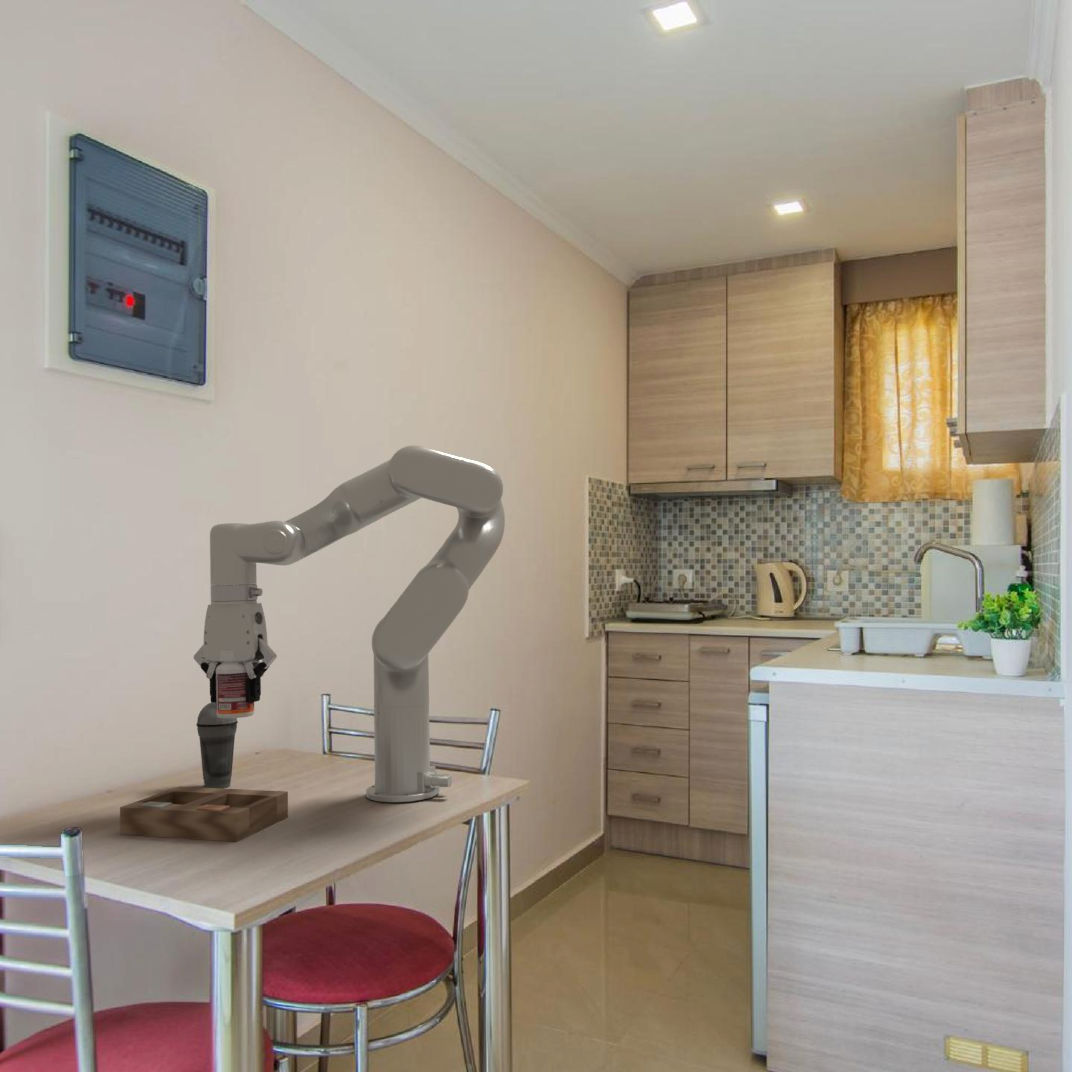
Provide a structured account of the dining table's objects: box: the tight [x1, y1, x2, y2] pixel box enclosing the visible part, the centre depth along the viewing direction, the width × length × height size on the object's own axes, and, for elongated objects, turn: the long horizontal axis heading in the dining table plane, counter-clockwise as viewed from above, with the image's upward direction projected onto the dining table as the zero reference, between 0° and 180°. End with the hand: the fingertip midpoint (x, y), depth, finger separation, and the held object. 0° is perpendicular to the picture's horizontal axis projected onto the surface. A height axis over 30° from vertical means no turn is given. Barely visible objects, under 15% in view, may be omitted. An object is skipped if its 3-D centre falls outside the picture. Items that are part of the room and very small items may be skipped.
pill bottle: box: [216, 651, 255, 719], centre depth 157 cm, size 6×6×11 cm
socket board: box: [119, 786, 289, 843], centre depth 143 cm, size 20×14×4 cm
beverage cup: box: [195, 679, 239, 789], centre depth 171 cm, size 7×7×20 cm
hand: (235, 700), depth 157 cm, fingers closed on pill bottle, 6 cm apart
